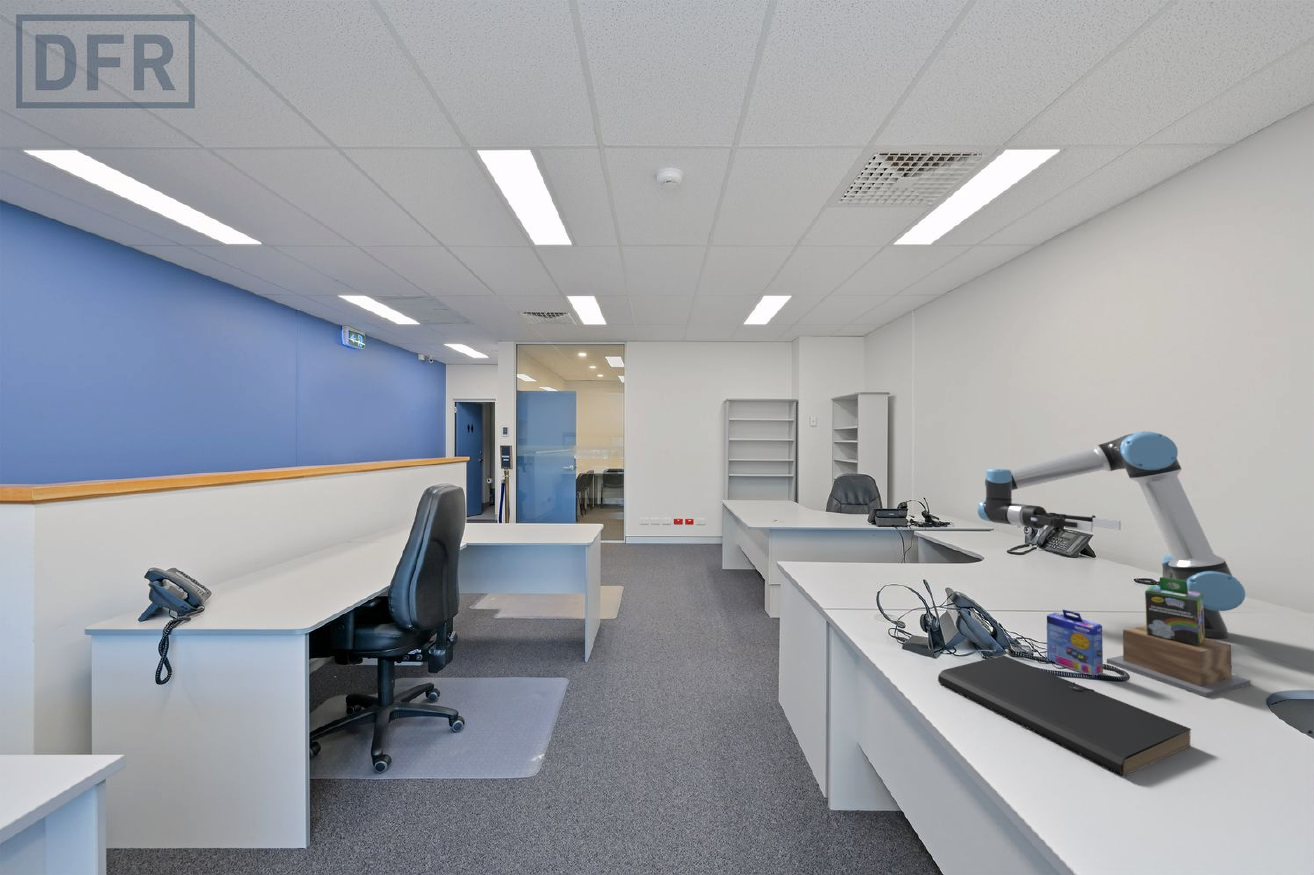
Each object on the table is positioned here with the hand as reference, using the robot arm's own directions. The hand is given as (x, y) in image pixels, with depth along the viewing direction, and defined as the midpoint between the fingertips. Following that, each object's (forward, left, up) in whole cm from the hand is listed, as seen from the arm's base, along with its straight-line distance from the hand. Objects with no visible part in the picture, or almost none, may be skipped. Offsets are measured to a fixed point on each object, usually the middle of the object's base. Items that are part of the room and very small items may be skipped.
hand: (1106, 526), depth 137 cm
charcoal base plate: (+8, +18, -34) cm, 39 cm away
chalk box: (+8, +18, -25) cm, 32 cm away
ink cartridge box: (+30, +8, -34) cm, 46 cm away
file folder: (+60, +20, -35) cm, 72 cm away
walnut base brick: (+8, +18, -34) cm, 39 cm away
